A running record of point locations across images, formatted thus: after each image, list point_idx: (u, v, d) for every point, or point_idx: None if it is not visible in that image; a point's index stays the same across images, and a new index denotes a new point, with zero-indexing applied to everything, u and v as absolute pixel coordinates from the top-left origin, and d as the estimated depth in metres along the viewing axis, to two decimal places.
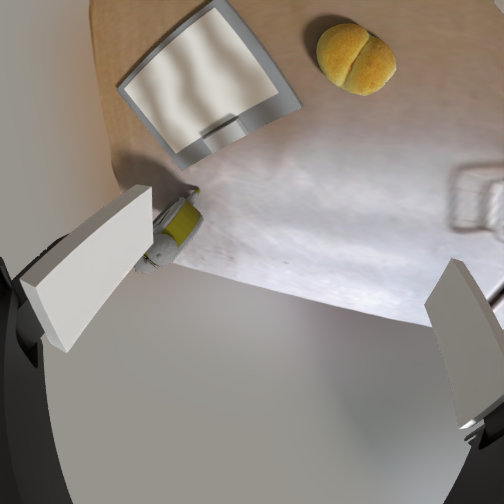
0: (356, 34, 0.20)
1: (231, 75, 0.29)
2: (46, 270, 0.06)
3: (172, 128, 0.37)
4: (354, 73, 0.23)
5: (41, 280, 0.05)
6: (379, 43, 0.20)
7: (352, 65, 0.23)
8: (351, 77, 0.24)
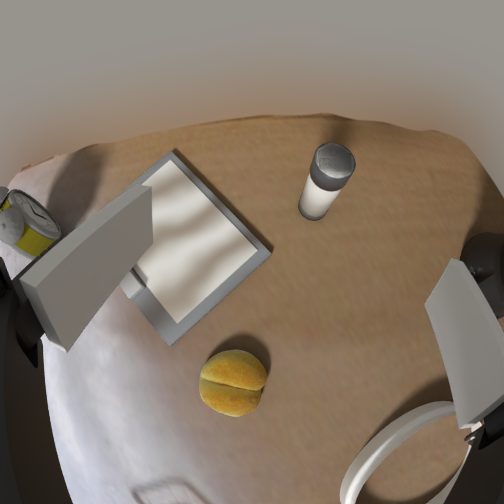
0: (256, 382, 0.31)
1: (185, 275, 0.35)
2: (46, 270, 0.06)
3: None
4: (218, 388, 0.30)
5: (41, 280, 0.05)
6: (256, 399, 0.31)
7: (225, 385, 0.31)
8: (213, 386, 0.31)
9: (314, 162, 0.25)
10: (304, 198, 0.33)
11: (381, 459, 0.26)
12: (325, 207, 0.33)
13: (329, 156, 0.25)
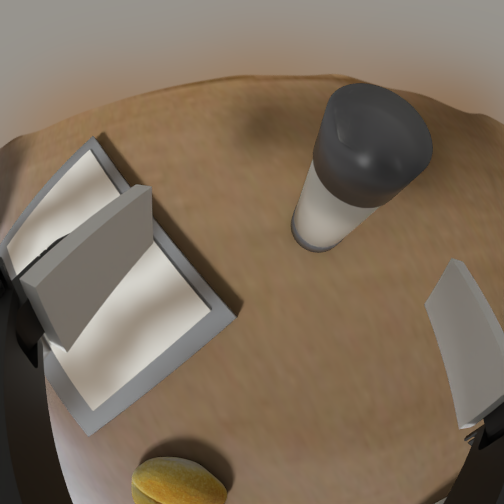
0: None
1: (97, 341, 0.19)
2: (46, 270, 0.06)
3: (30, 241, 0.20)
4: None
5: (41, 280, 0.05)
6: None
7: None
8: (146, 501, 0.14)
9: (326, 127, 0.08)
10: (300, 214, 0.16)
11: None
12: (343, 235, 0.16)
13: (368, 114, 0.08)
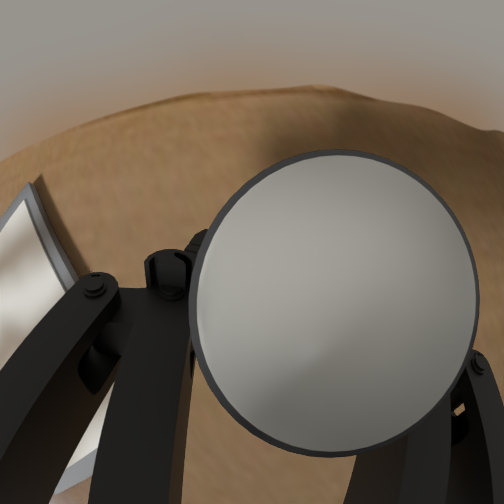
0: None
1: None
2: None
3: None
4: None
5: None
6: None
7: None
8: None
9: None
10: None
11: None
12: None
13: (323, 271, 0.03)
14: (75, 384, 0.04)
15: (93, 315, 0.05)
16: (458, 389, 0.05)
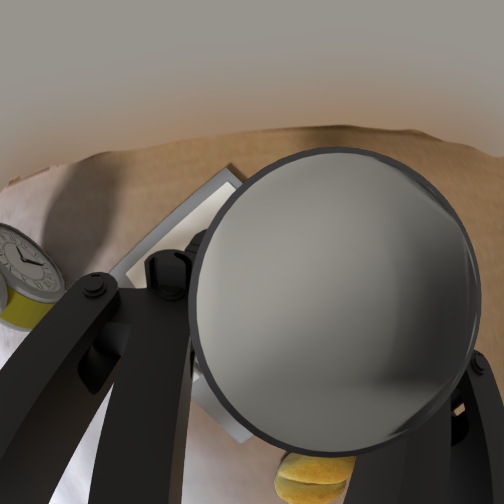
0: (348, 475, 0.20)
1: None
2: None
3: None
4: (304, 488, 0.19)
5: None
6: (343, 489, 0.20)
7: (312, 484, 0.19)
8: (297, 486, 0.20)
9: None
10: None
11: None
12: None
13: (324, 270, 0.03)
14: (75, 384, 0.04)
15: (93, 315, 0.05)
16: (458, 389, 0.05)
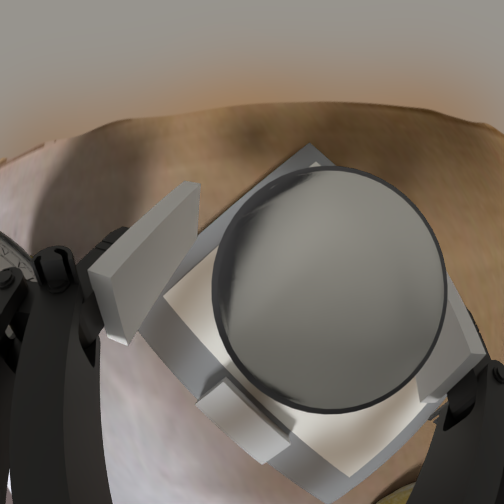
0: None
1: None
2: (118, 261, 0.06)
3: None
4: None
5: (115, 270, 0.06)
6: None
7: None
8: None
9: None
10: None
11: None
12: None
13: (314, 261, 0.04)
14: (0, 366, 0.04)
15: (5, 302, 0.05)
16: None
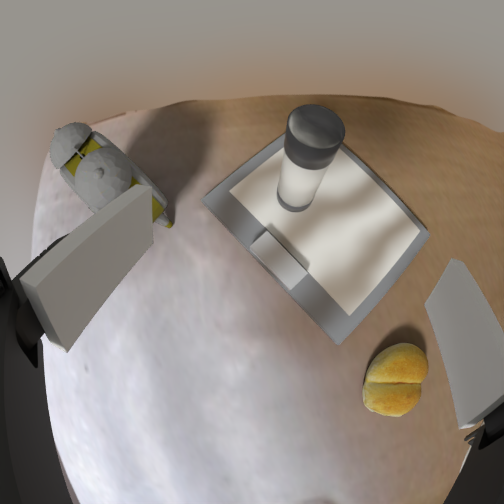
0: (425, 373, 0.24)
1: (354, 257, 0.29)
2: (46, 270, 0.06)
3: (268, 186, 0.31)
4: (393, 388, 0.24)
5: (41, 280, 0.05)
6: None
7: (399, 383, 0.24)
8: (387, 387, 0.24)
9: (287, 129, 0.18)
10: (281, 183, 0.26)
11: None
12: (308, 194, 0.25)
13: (309, 121, 0.18)
14: None
15: None
16: None
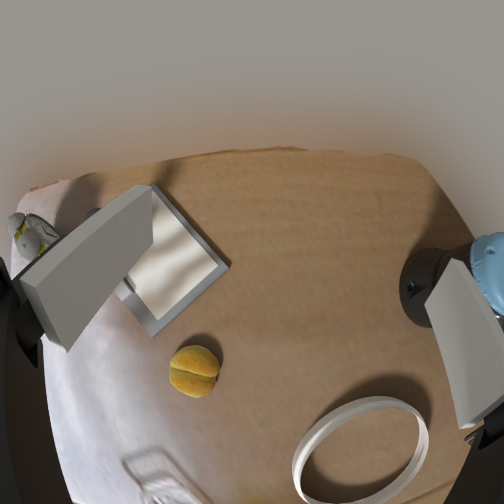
0: (209, 370, 0.41)
1: (164, 283, 0.45)
2: (46, 270, 0.06)
3: None
4: (181, 374, 0.40)
5: (41, 280, 0.05)
6: (210, 384, 0.41)
7: (186, 371, 0.40)
8: (178, 372, 0.41)
9: None
10: None
11: (320, 440, 0.36)
12: None
13: None
14: None
15: None
16: None
